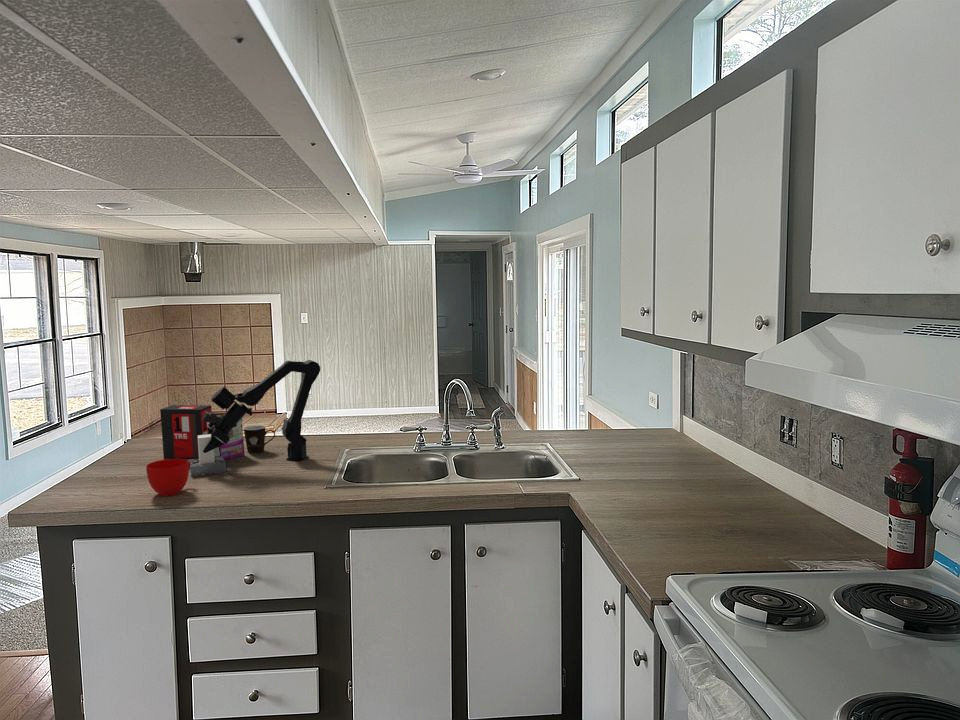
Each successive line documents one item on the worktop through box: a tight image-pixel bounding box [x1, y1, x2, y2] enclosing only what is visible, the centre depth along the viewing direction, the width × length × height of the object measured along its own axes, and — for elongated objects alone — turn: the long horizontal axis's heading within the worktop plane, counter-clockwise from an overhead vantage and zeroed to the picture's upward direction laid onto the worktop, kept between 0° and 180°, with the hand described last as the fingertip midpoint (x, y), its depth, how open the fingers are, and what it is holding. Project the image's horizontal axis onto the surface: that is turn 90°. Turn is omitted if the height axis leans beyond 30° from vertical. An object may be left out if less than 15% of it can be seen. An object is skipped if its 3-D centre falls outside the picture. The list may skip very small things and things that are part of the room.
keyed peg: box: [198, 434, 215, 464], centre depth 259 cm, size 6×5×13 cm
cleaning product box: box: [159, 404, 213, 460], centre depth 280 cm, size 16×9×20 cm, turn 84°
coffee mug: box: [243, 425, 276, 454], centre depth 286 cm, size 12×9×10 cm
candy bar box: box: [214, 418, 245, 461], centre depth 277 cm, size 11×5×16 cm, turn 143°
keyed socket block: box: [187, 456, 227, 477], centre depth 259 cm, size 12×12×4 cm
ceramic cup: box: [145, 459, 190, 497], centre depth 234 cm, size 13×17×10 cm
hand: (202, 449), depth 258 cm, fingers open, 9 cm apart
